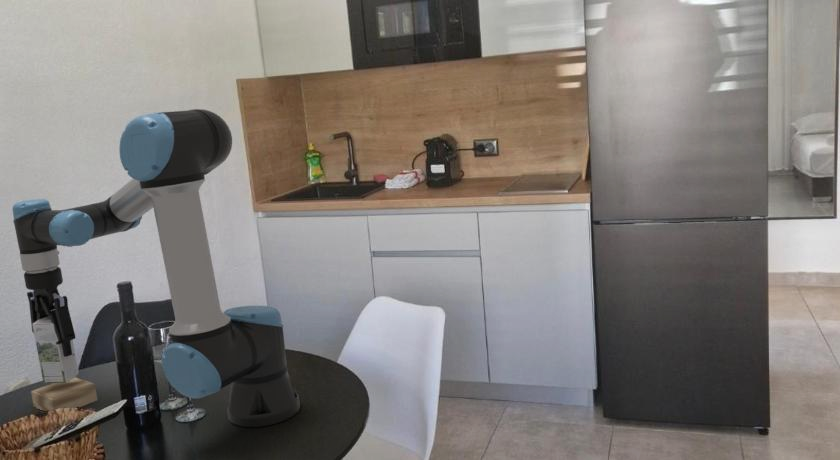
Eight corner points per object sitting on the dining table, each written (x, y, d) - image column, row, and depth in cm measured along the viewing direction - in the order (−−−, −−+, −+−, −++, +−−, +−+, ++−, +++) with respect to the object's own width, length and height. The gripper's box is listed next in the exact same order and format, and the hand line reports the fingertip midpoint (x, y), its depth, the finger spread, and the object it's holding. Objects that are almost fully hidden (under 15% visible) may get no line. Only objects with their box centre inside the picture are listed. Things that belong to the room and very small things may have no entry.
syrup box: (79, 373, 179) (69, 313, 176) (66, 383, 173) (55, 322, 170) (56, 374, 179) (46, 315, 176) (42, 384, 173) (31, 323, 171)
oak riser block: (97, 400, 178) (94, 383, 177) (55, 416, 170) (52, 399, 170) (75, 392, 184) (72, 375, 183) (33, 407, 176) (30, 390, 176)
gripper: (81, 269, 168) (98, 368, 172) (36, 261, 180) (52, 353, 185) (47, 277, 162) (65, 379, 166) (3, 268, 174) (21, 363, 179)
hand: (58, 365), depth 175 cm, fingers closed on syrup box, 8 cm apart
